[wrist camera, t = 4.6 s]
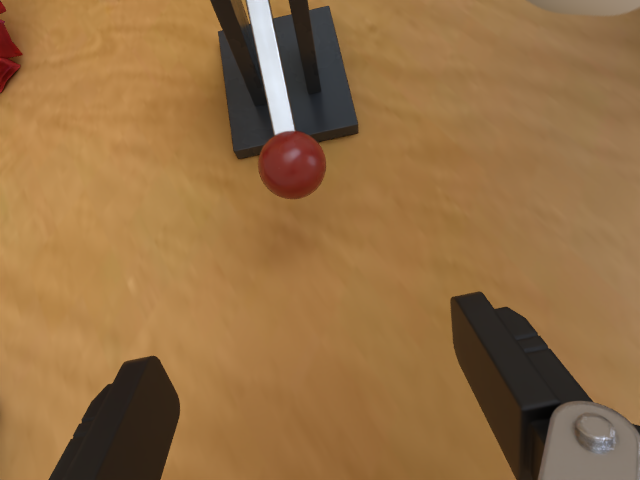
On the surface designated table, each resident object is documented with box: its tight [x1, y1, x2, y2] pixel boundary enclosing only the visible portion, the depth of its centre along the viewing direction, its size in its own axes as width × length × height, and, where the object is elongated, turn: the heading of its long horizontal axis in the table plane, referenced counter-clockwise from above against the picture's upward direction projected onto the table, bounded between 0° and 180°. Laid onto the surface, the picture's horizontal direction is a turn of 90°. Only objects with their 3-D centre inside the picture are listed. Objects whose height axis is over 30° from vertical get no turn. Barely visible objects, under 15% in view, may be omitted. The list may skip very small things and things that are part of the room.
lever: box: [246, 0, 326, 199], centre depth 20 cm, size 15×3×3 cm, turn 9°
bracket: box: [210, 0, 358, 159], centre depth 25 cm, size 11×9×14 cm
